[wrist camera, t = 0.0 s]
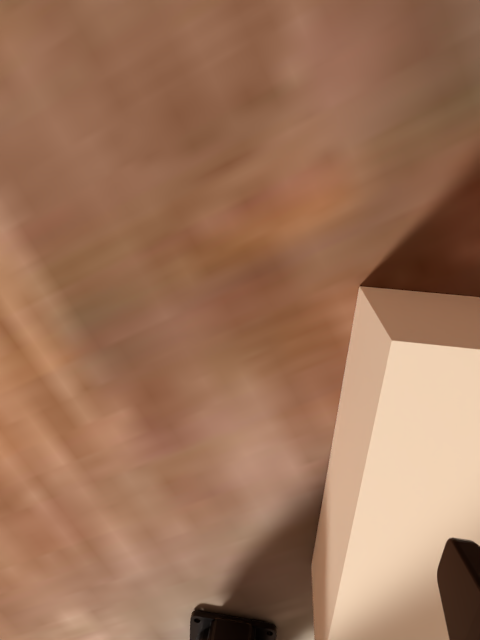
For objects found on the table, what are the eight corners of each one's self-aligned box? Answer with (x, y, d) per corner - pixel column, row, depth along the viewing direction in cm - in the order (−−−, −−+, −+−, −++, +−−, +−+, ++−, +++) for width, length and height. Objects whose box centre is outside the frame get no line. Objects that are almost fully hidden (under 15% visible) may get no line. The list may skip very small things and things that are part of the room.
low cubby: (470, 590, 27) (530, 731, 20) (311, 565, 28) (316, 691, 21) (577, 305, 20) (726, 375, 13) (359, 286, 21) (391, 340, 14)
